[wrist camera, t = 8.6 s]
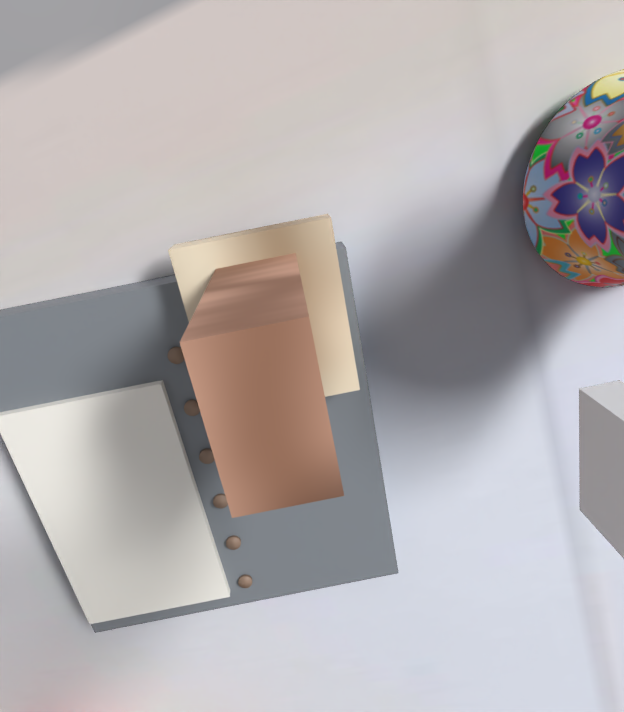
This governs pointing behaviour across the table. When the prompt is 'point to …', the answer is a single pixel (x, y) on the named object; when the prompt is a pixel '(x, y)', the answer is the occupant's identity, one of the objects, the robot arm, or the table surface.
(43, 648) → the table surface
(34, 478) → the board
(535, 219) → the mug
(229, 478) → the stub
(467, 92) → the table surface
